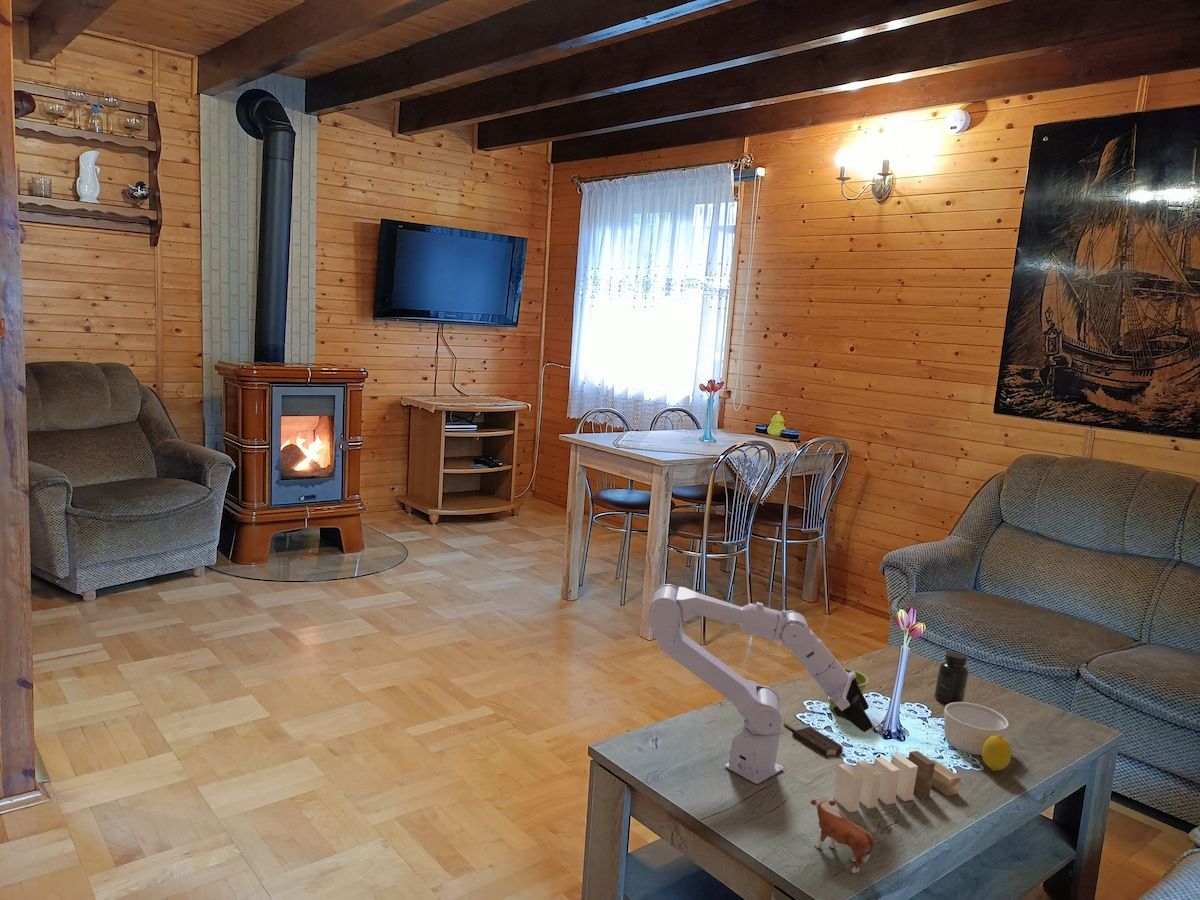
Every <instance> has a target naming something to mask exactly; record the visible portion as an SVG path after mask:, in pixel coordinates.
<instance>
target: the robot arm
mask: <svg viewBox="0 0 1200 900" xmlns="http://www.w3.org/2000/svg"><path fill="white" fill-rule="evenodd" d="M651 599H652V600H651V603H650V605H649V606H648V619H647V620H648V627H650V628H651V631H652V632H653V634H654V637H655V639H656V642H657V644H658V647H659V648H660V650H661V651H662V652H664V653H665V654H666V655H668V656H669V657H670V658H671V659H673V660H674V661H676V662H677V663H678V664H680V665H681V666H683V667H684V668H686V669H687V670H688V671H689V672H691V673H692V674H693V675H695V676H696V677H698V678H699V679H700V680H701V681H703V682H704V683H706V684H707V685H708V686H709V687H710V688H712V689H714V690H715V691H716V692H717V693H719V694H721V695H722V696H723V697H724V698H726V699H727V700H728V701H730V702H731V703H732V704H733V705H734V707H735V709H736V710H737V711H738V713H739V714H740V715H741V716H742V717H743V718H744V721H743V724H742V728H741V730H740V731H739V732H738V733H737V734H736V735H735V736H733V738H732V741H731V747H730V754H729V762H727V763H725V765H724V767H725V768H726V769H728V770H730V771H732V772H734V773H735V774H737V775H739V776H741V777H743V778H744V779H746V780H748V781H750V782H752V783H754V784H756V785H758V784H761V783H762V782H764V781H766V780H767V779H770V778H771V777H773V776H775V775H776V774H778V773H780V772H782V771H784V766H783V765H781V764H779V763H777V755H778V749H779V747H778V746H779V740H780V733H781V726H782V721H783V720H782V716H781V715H782V714H781V711H780V710H781V709H780V697H779V694H778V693H777V691H775V689H774V688H772V687H770V686H767V685H763V684H760V683H758V682H756V681H754V680H752V679H745V678H744V677H743V676H742V675H740V674H739V673H738V672H736V671H735V670H733V669H732V668H731V667H729V666H728V665H726V664H725V663H724V662H723V661H722V660H720V659H719V658H717V657H716V656H715V655H713V654H712V653H710V652H709V651H708V650H707V649H705V648H703V646H701V645H700V644H698V643H697V642H696V641H694V640H693V639H692V638H690V637H689V636H687V635H686V634H685V633H684V632H683V631H684V630H683V624H682V622H685V623H686V622H687V621H689V620H691V619H693V618H695V617H698V616H700V617H706V618H711V619H715V620H718V621H719V620H720V621H723V622H729V623H733V624H738V626H739V627H740V628H741V630H742V632H743V633H746V634H747V633H748V634H751V635H755V636H759V637H761V638H765V639H768V640H772V641H781V645H782V647H784V648H785V649H786V650H789V651H792V652H793V653H794V654H795V656H796V658H797V659H798V660H799V662H800V663H801V664H802V666H803V667H804V668H805V669H806V670H807V672H808V673H810V676H812V677H813V679H814V680H815V681H816V683H817V684H818V685H819V686H820V687H821V688H822V690H823V691H824V694H825V695H826V696H827V697H828V698H829V699H830V698H831V699H832V700H833V701H834V702H835V704H836V705H837V706H835V707H834V708H833V710H834V712H833V713H834V714H835V715H836V716H837V717H839V718H842V719H845V721H848V722H850V724H852V725H854V726H855V727H856V728H857V729H859V730H860V731H861V732H863V733H866V732H867V731H869V730H871V729H873V727H874V725H873V723H872V721H871V719H870V717H869V716H868V714H867V713H866V711H867V710H868V709H869V708H870V707H869V704H868V702H867V699H866V697H865V696H864V694H863V692H861V691H860V688H859V686H858V684H857V681H856V673H855V672H854V671H855V670H854V671H851V672H849V673H848V672H846V671H845V669H846V668H845V669H844V667H843V666H842V665H841V663H840V662H839V661H838V659H837V658H836V657H835V655H833V653H832V652H831V651H830V650H829V649H828V647H827V645H825V644H824V642H823V641H822V640H821V639H820V638H818V636H817V635H816V634H815V632H813V630H812V629H811V628H809V625H808V621H807V619H806V617H805V616H804V615H803V614H802V613H800V612H797V611H796V610H793V609H792V610H791V609H790V610H785V609H781V611H780V610H777V609H774V608H773V609H772V608H769V607H766V606H764V603H763V602H758V601H756V604H755V603H748V604H745V605H744V606H740V605H737V604H734V603H731V602H728V601H726V600H725V601H724V600H721V599H718V598H715V597H711V596H709V595H706V594H702V593H701V592H697V591H694V590H692V589H689V588H687V587H685V586H678V587H677V585H674V584H670V583H665V584H662V585H659V586H657V587H656V589H655V590H654V591H653V594H652V598H651ZM682 617H683V621H682Z"/></svg>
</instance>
